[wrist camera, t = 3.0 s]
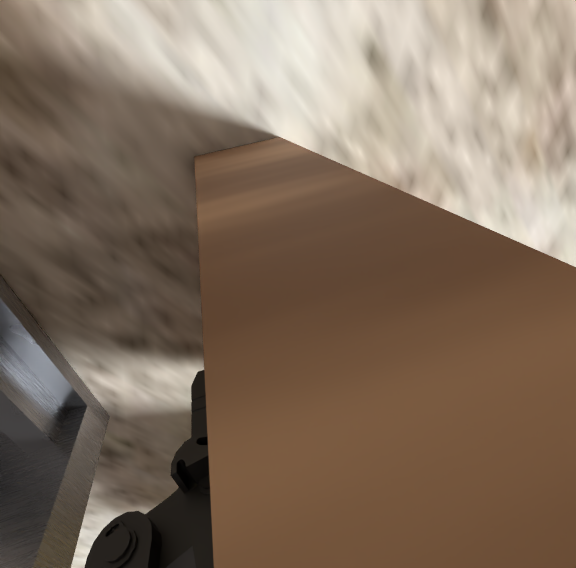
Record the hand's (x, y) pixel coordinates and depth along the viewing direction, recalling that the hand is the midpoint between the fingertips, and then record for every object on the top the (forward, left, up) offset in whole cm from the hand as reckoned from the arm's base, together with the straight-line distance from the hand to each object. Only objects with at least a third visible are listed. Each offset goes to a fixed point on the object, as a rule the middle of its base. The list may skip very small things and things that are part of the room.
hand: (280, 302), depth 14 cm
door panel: (0, 0, -3) cm, 3 cm away
